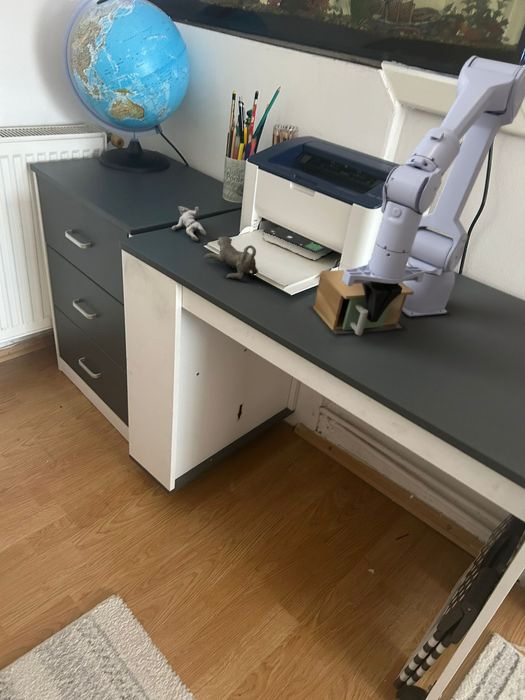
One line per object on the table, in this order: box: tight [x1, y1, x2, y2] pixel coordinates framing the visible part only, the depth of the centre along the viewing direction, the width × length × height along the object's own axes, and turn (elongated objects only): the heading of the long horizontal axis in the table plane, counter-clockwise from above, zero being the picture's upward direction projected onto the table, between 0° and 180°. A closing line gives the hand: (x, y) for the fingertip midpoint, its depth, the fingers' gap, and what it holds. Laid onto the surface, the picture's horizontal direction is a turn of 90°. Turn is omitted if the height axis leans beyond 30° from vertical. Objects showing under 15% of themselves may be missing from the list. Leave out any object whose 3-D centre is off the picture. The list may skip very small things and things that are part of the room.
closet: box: [312, 269, 414, 336], centre depth 96 cm, size 14×9×8 cm
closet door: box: [342, 298, 389, 336], centre depth 92 cm, size 8×4×6 cm, turn 112°
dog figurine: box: [203, 236, 259, 280], centre depth 105 cm, size 12×6×7 cm, turn 44°
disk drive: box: [262, 227, 325, 253], centre depth 123 cm, size 10×3×15 cm
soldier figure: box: [171, 205, 207, 242], centre depth 120 cm, size 8×5×12 cm
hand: (371, 319), depth 90 cm, fingers closed
